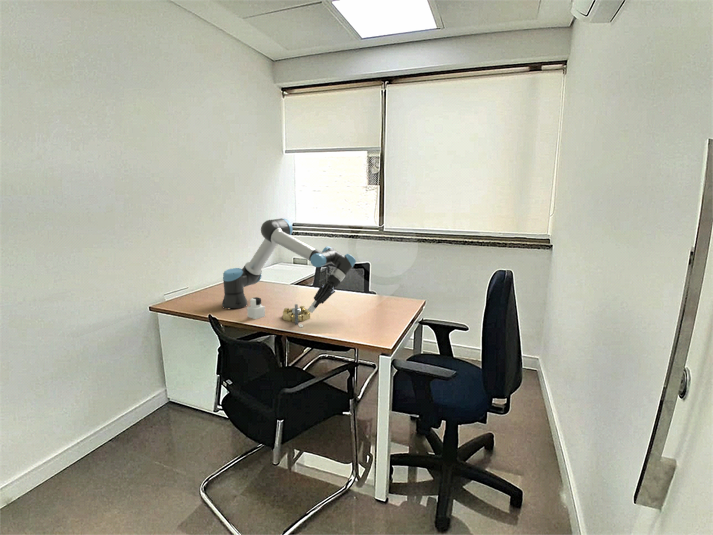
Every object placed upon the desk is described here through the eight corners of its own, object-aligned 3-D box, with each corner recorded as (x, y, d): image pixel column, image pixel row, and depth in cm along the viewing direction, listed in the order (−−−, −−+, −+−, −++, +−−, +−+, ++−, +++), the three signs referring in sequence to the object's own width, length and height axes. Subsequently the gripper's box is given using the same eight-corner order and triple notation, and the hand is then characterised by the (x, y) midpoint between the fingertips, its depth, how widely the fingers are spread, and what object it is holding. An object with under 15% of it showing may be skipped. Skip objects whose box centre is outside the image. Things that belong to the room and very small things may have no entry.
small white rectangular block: (298, 327, 200) (298, 324, 200) (302, 326, 201) (302, 324, 200) (299, 329, 196) (299, 326, 196) (303, 329, 197) (303, 326, 197)
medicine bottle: (257, 315, 219) (256, 295, 217) (265, 318, 215) (264, 298, 212) (247, 318, 214) (246, 298, 211) (255, 321, 209) (253, 300, 207)
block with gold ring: (283, 313, 219) (282, 298, 217) (309, 312, 221) (309, 297, 219) (282, 325, 199) (281, 309, 198) (311, 323, 202) (310, 307, 200)
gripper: (346, 284, 207) (320, 318, 201) (333, 279, 218) (308, 312, 212) (337, 276, 203) (311, 310, 197) (325, 271, 214) (300, 304, 208)
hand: (309, 311), depth 205 cm, fingers closed
